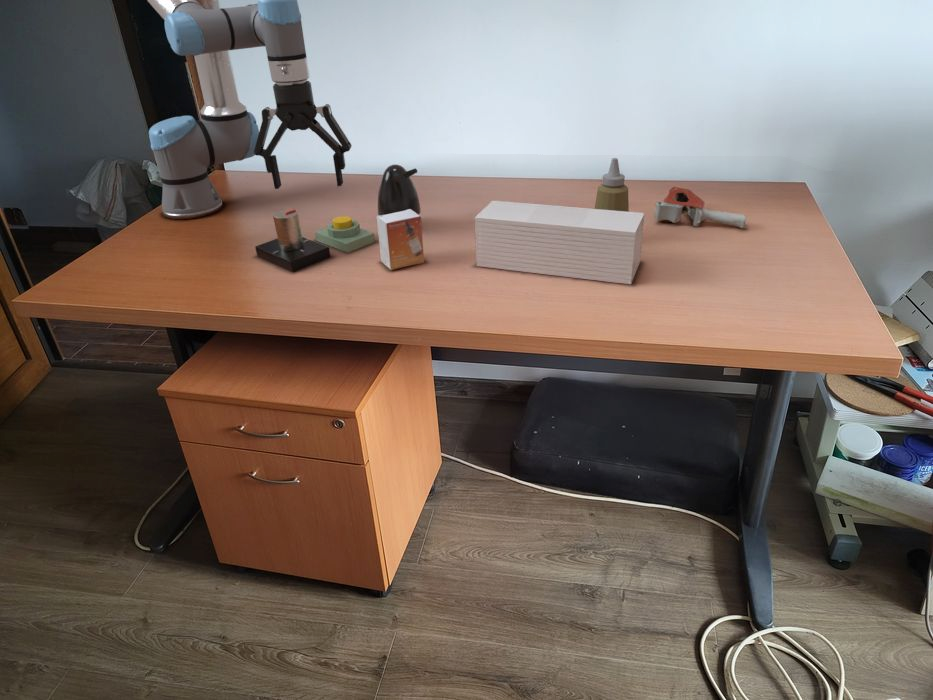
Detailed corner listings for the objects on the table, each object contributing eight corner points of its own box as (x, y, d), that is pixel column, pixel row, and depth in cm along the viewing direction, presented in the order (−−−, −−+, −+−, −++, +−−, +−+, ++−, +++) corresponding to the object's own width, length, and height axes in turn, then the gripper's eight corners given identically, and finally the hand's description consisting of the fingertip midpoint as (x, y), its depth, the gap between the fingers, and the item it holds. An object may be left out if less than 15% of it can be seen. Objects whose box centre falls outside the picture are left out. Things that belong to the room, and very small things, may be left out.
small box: (390, 271, 140) (385, 223, 135) (380, 262, 145) (375, 215, 139) (425, 262, 143) (421, 215, 138) (414, 254, 148) (410, 208, 142)
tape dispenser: (749, 235, 152) (698, 203, 168) (755, 213, 149) (702, 182, 165) (682, 244, 147) (635, 210, 163) (687, 221, 144) (639, 189, 160)
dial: (288, 252, 145) (281, 218, 141) (275, 247, 148) (268, 213, 144) (308, 245, 148) (302, 211, 144) (294, 240, 151) (288, 206, 147)
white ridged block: (639, 263, 138) (644, 212, 133) (630, 284, 130) (635, 232, 124) (493, 247, 149) (492, 200, 143) (476, 266, 141) (474, 217, 135)
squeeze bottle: (631, 235, 151) (638, 155, 142) (623, 248, 145) (629, 165, 136) (596, 231, 154) (601, 152, 145) (586, 243, 148) (590, 162, 139)
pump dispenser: (416, 235, 157) (410, 171, 149) (374, 234, 159) (366, 171, 151) (427, 220, 165) (422, 158, 158) (387, 219, 167) (380, 158, 160)
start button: (329, 227, 154) (328, 220, 153) (344, 221, 157) (343, 214, 156) (341, 231, 152) (340, 224, 151) (356, 225, 154) (355, 218, 153)
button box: (316, 240, 157) (313, 224, 155) (343, 230, 162) (340, 214, 160) (347, 252, 150) (345, 236, 148) (375, 241, 155) (373, 225, 153)
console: (257, 256, 151) (254, 245, 149) (294, 243, 157) (292, 232, 155) (292, 272, 142) (290, 261, 141) (330, 257, 148) (328, 246, 147)
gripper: (224, 88, 131) (247, 193, 142) (350, 81, 130) (364, 188, 141) (235, 81, 138) (257, 182, 149) (356, 75, 137) (368, 178, 148)
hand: (309, 185), depth 145 cm, fingers open, 13 cm apart
